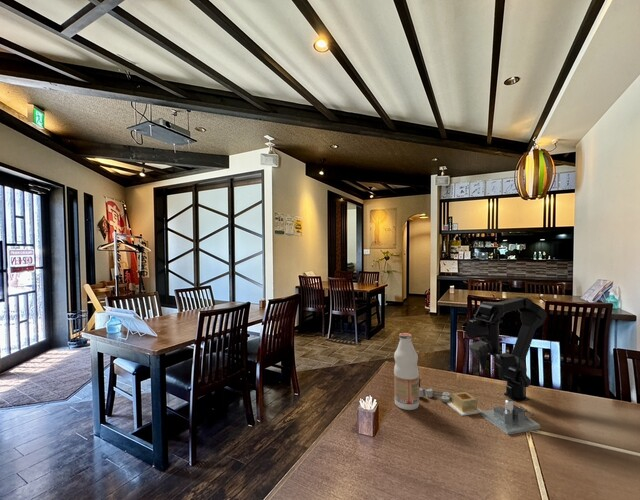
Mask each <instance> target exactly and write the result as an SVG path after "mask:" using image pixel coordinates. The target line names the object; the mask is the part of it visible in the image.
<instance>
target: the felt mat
mask: <svg viewBox="0 0 640 500" xmlns="http://www.w3.org/2000/svg"><path fill="white" fill-rule="evenodd" d="M446 404H447V405H448V406H449V407H450V408H452V409H453V411H455V412H456V413H458V415H460V416H462V417H463V416H470V415H476V414H481V411H483V410H481V408H479V406H477V410H474V411H467V412H462V411H460V410H459V409H458V408H457V407H455V406H454V405H453V404H452V401H449V402H446Z"/></svg>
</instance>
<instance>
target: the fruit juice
mask: <svg viewBox="0 0 640 500" xmlns="http://www.w3.org/2000/svg"><path fill="white" fill-rule="evenodd" d="M398 337H399V342H398V344H397V347H396V349H395V351H394V354H393V358H394V363H395V364H394V368H393V379H394V380H393V381H394V382H393V383H394V391H393V392H394V403H395V406H396V407H398V408H399V409H401V410H405V411H413V410H416V409H418V408H419V406H420V397H419V387H420V386H419V385H420V376H419V374H420V373H419V368H418V360H419V355H418V353H417V351H416V350H415V347H414V344H413V342H412V339H413V336H412V334H411V333H408V332H401V333H399V336H398Z"/></svg>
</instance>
